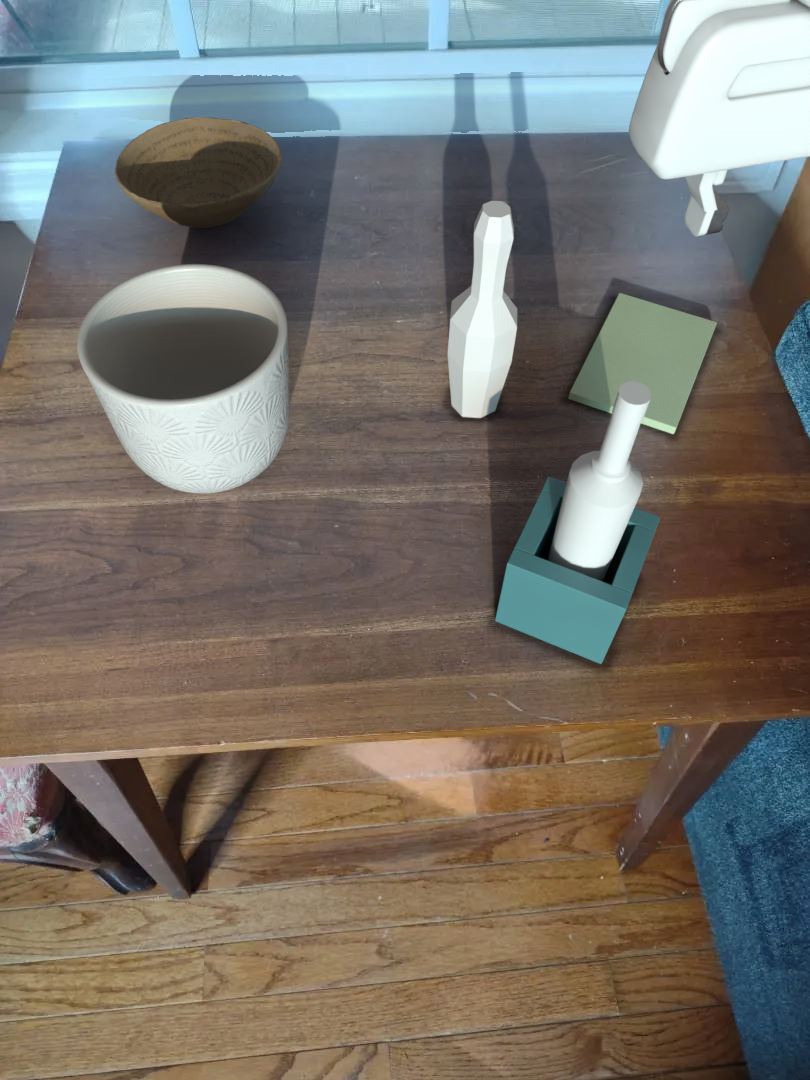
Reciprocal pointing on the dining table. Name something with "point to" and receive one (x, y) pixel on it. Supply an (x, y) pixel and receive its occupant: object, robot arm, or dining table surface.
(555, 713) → the dining table surface
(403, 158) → the dining table surface
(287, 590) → the dining table surface
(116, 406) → the planter
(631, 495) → the bottle
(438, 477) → the dining table surface
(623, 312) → the mat
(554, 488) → the holster
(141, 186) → the bowl
